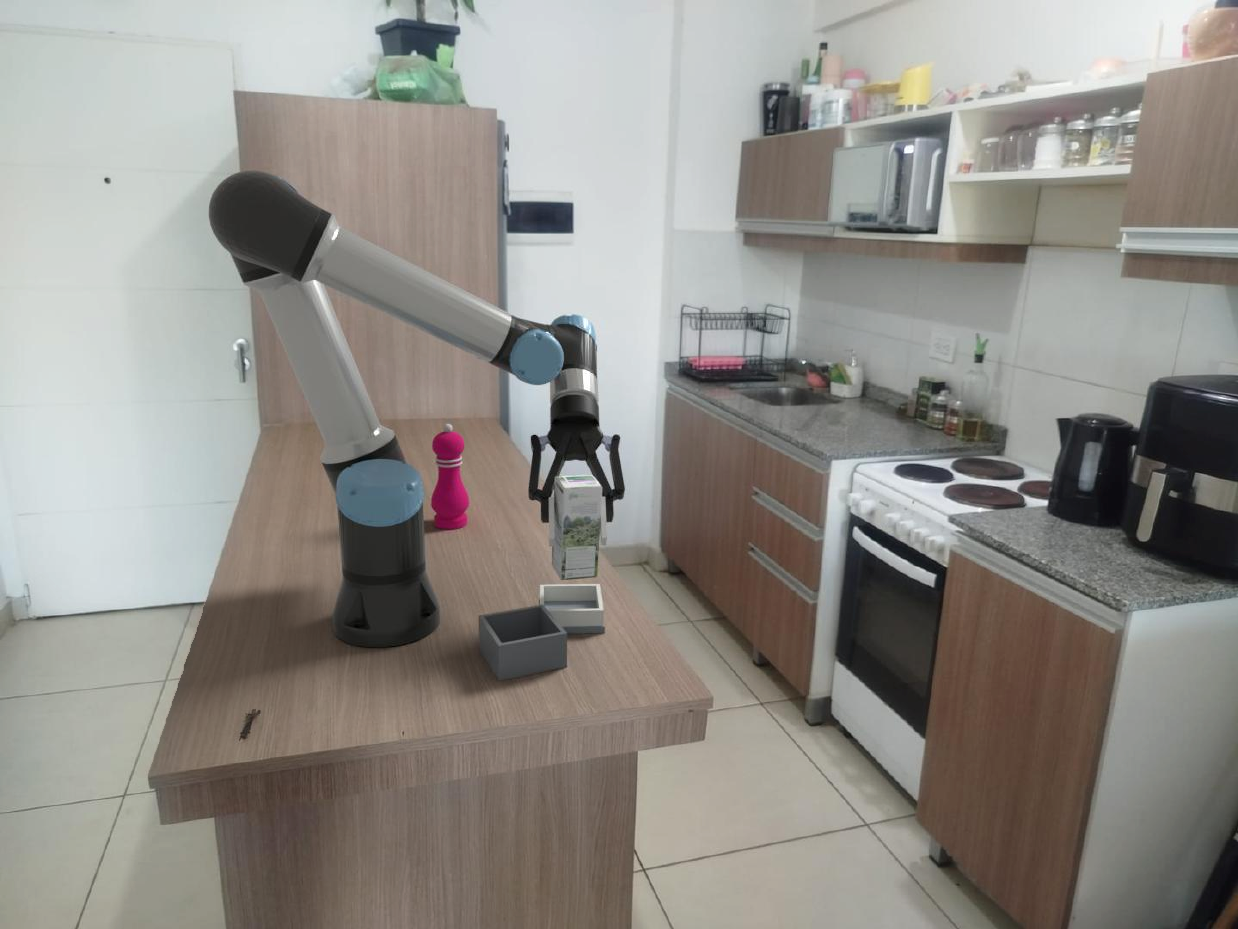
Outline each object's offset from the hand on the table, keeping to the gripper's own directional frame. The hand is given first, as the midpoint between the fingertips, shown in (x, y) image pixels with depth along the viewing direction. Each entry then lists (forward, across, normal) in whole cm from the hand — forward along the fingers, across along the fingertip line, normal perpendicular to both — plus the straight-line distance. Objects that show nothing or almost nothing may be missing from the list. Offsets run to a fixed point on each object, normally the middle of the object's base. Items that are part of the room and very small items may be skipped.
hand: (577, 541), depth 123 cm
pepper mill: (-22, +23, -41) cm, 52 cm away
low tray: (+7, +1, -12) cm, 14 cm away
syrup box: (+2, 0, -7) cm, 7 cm away
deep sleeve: (+16, +8, -4) cm, 18 cm away
